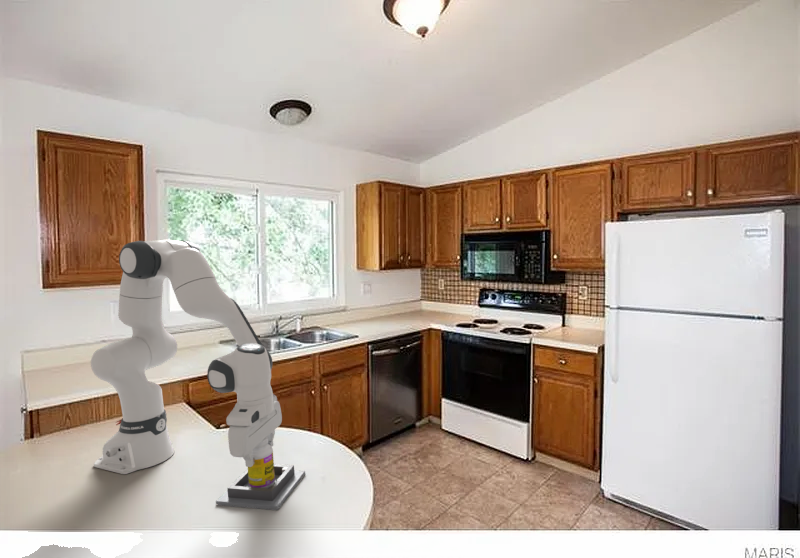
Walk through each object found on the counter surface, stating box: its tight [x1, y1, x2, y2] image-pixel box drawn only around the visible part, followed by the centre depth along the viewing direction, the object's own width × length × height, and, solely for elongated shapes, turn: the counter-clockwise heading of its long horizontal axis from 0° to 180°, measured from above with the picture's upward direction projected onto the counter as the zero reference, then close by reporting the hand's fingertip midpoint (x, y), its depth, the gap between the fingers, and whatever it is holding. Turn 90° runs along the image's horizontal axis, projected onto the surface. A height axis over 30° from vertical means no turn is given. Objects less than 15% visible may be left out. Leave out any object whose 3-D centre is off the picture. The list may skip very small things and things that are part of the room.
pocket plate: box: [215, 463, 306, 511], centre depth 112 cm, size 17×16×4 cm
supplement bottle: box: [247, 436, 275, 488], centre depth 111 cm, size 7×7×13 cm
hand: (260, 456), depth 111 cm, fingers open, 8 cm apart
